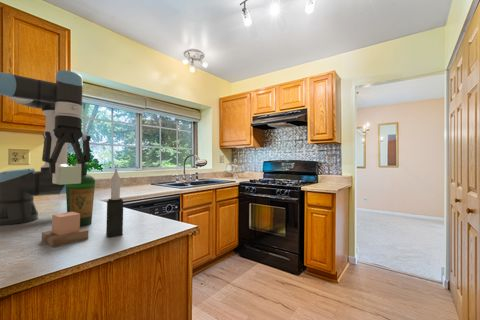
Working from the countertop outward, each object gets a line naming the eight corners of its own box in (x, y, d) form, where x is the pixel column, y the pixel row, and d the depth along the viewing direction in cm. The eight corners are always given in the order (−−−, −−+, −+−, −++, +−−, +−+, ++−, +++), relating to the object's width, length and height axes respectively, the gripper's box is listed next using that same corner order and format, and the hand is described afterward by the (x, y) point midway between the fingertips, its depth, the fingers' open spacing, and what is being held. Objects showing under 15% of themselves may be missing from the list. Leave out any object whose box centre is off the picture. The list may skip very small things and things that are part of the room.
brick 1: (52, 183, 77) (53, 166, 77) (73, 182, 82) (73, 166, 82) (60, 184, 74) (60, 166, 74) (80, 183, 79) (81, 166, 79)
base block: (41, 241, 76) (41, 232, 76) (75, 233, 85) (75, 225, 85) (53, 247, 71) (53, 238, 71) (88, 238, 80) (88, 230, 80)
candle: (105, 233, 85) (107, 168, 85) (120, 231, 88) (122, 168, 88) (107, 237, 81) (109, 168, 81) (123, 235, 84) (124, 168, 84)
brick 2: (51, 232, 77) (52, 214, 77) (72, 227, 82) (72, 211, 82) (59, 235, 74) (59, 217, 74) (79, 230, 79) (80, 213, 79)
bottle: (78, 229, 90) (80, 160, 90) (57, 226, 92) (59, 159, 93) (100, 222, 100) (102, 160, 101) (81, 220, 103) (82, 159, 103)
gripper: (37, 109, 68) (35, 185, 68) (102, 120, 84) (101, 181, 84) (29, 112, 72) (27, 183, 72) (92, 121, 88) (91, 180, 88)
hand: (67, 182), depth 78 cm, fingers closed on brick 1, 6 cm apart
